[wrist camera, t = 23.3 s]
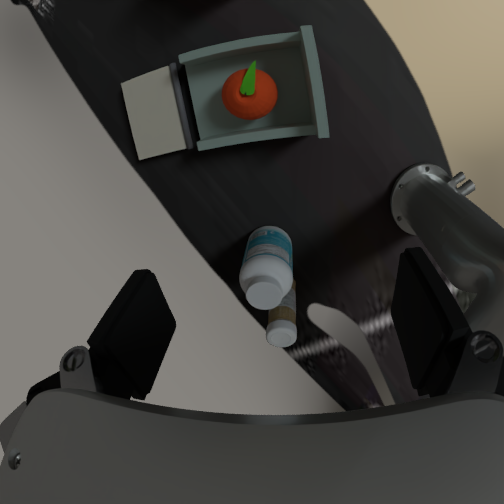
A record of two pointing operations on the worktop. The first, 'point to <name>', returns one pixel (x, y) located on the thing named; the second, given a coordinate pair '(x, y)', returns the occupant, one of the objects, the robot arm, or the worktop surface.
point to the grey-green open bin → (278, 68)
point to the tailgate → (157, 112)
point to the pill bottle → (267, 267)
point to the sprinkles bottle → (283, 321)
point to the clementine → (249, 93)
